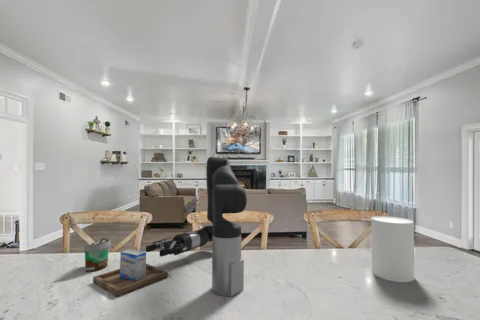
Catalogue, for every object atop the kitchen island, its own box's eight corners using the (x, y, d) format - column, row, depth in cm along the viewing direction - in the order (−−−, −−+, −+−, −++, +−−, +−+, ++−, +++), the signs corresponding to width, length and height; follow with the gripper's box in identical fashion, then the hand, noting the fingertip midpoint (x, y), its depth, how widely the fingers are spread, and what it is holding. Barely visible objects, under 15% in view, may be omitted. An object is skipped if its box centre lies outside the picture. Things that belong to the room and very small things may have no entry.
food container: (99, 274, 95) (100, 246, 96) (83, 273, 95) (83, 245, 96) (116, 261, 108) (117, 237, 108) (101, 261, 108) (102, 237, 108)
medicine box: (119, 277, 90) (119, 252, 91) (129, 272, 94) (130, 248, 95) (136, 281, 87) (136, 255, 87) (146, 277, 91) (146, 251, 91)
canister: (371, 277, 94) (370, 220, 94) (372, 265, 106) (371, 215, 106) (416, 285, 88) (415, 224, 88) (412, 271, 100) (411, 218, 100)
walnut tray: (167, 277, 92) (167, 271, 92) (117, 297, 78) (117, 290, 78) (141, 267, 102) (141, 261, 102) (93, 282, 88) (93, 276, 88)
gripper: (175, 230, 114) (142, 237, 101) (198, 235, 106) (165, 244, 93) (175, 247, 114) (141, 257, 101) (198, 254, 105) (164, 266, 93)
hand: (153, 251), depth 97 cm, fingers open, 8 cm apart
